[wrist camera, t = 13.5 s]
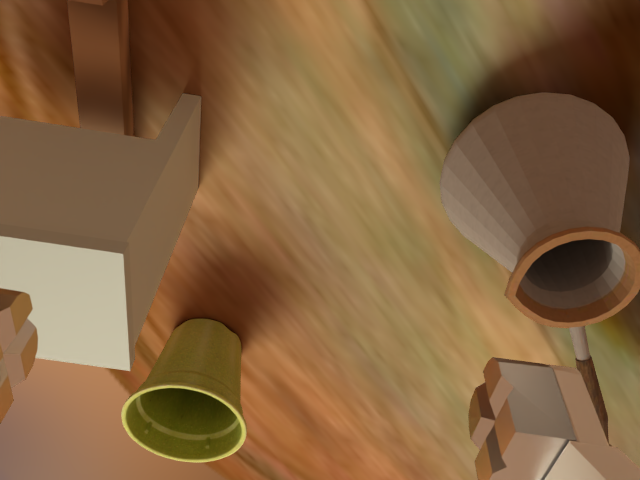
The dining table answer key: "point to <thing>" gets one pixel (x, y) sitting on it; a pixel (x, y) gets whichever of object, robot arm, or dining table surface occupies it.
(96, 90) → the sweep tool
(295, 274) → the dining table surface
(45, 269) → the grey cube on pedestal
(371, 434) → the dining table surface
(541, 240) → the coffee pot
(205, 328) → the plant pot
